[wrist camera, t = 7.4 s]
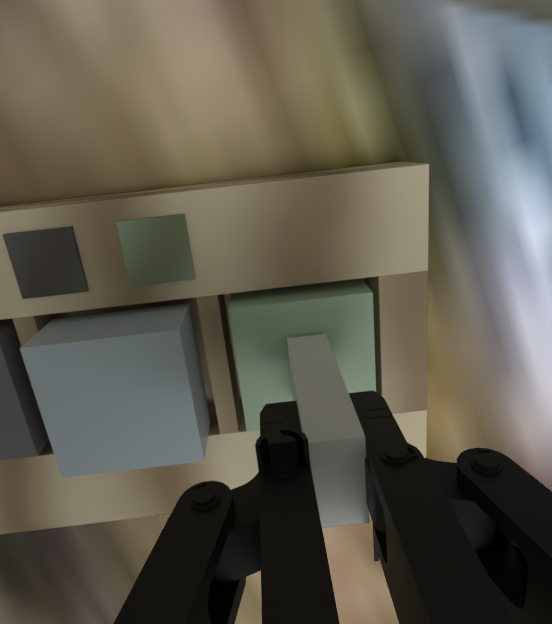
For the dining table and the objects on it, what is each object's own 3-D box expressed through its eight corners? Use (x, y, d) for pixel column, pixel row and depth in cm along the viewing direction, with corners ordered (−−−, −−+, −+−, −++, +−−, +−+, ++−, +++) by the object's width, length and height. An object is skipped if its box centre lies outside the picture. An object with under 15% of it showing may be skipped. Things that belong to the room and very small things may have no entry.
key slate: (86, 434, 20) (61, 477, 17) (53, 318, 18) (19, 348, 15) (210, 419, 20) (204, 461, 17) (189, 303, 18) (178, 329, 16)
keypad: (-58, 498, 24) (-103, 550, 21) (-179, 226, 19) (-261, 242, 16) (405, 443, 24) (427, 486, 21) (402, 161, 19) (431, 164, 16)
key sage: (247, 397, 21) (246, 432, 19) (231, 287, 20) (228, 309, 17) (361, 383, 22) (376, 416, 19) (356, 272, 20) (372, 292, 17)
